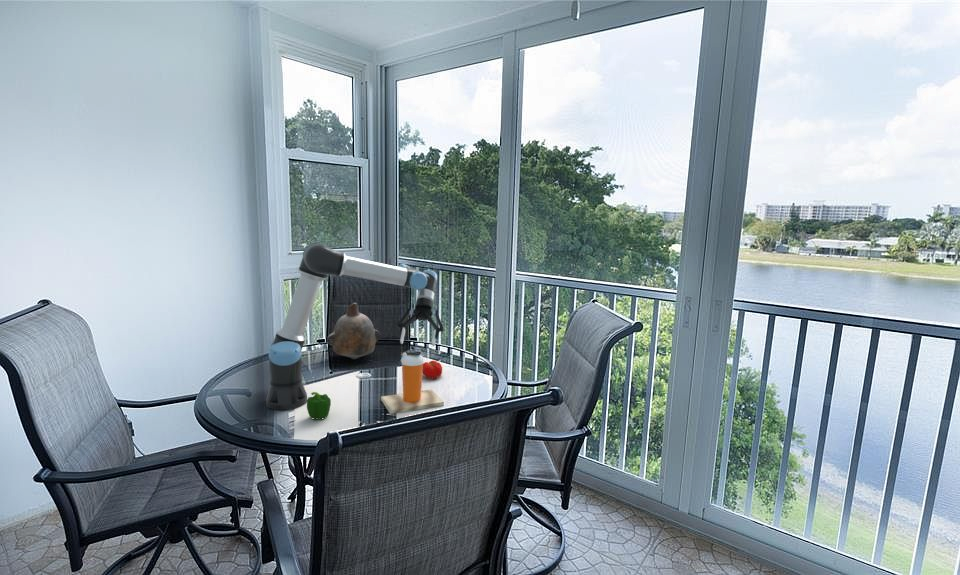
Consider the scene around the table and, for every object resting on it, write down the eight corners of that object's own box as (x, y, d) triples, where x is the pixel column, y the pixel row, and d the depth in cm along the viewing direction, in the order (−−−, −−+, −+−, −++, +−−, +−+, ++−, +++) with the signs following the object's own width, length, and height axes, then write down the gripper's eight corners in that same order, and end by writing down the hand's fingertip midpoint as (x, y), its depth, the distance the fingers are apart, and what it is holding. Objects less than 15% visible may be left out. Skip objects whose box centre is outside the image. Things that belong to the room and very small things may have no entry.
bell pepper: (333, 412, 178) (333, 387, 177) (327, 422, 170) (326, 396, 169) (311, 412, 178) (310, 387, 176) (304, 421, 170) (303, 395, 168)
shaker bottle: (418, 404, 184) (419, 356, 181) (397, 402, 186) (397, 354, 183) (425, 396, 193) (426, 349, 190) (405, 393, 195) (406, 347, 191)
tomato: (423, 381, 214) (423, 367, 213) (419, 372, 225) (420, 359, 223) (444, 379, 217) (444, 366, 216) (440, 371, 227) (440, 358, 226)
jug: (359, 349, 257) (358, 295, 252) (386, 357, 244) (386, 301, 239) (321, 360, 237) (319, 302, 232) (348, 369, 225) (347, 308, 220)
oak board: (390, 413, 179) (390, 410, 179) (381, 400, 191) (381, 396, 191) (443, 405, 188) (443, 401, 188) (431, 392, 201) (431, 389, 200)
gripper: (453, 307, 211) (447, 349, 199) (398, 304, 213) (389, 345, 200) (452, 298, 205) (445, 341, 193) (396, 295, 206) (386, 337, 194)
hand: (417, 343), depth 197 cm, fingers open, 13 cm apart
